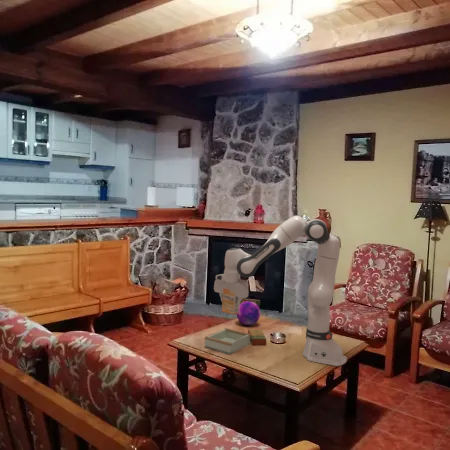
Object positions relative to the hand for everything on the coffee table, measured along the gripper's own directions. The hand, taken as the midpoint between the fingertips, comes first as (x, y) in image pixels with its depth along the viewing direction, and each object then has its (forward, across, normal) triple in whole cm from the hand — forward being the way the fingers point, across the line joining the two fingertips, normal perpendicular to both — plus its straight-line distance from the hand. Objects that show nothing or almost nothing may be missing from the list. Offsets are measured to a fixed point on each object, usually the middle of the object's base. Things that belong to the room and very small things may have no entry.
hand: (230, 303), depth 238 cm
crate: (+24, 0, -1) cm, 24 cm away
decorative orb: (+24, +11, -41) cm, 49 cm away
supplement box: (+5, 0, 0) cm, 5 cm away
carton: (+24, -8, -19) cm, 32 cm away
